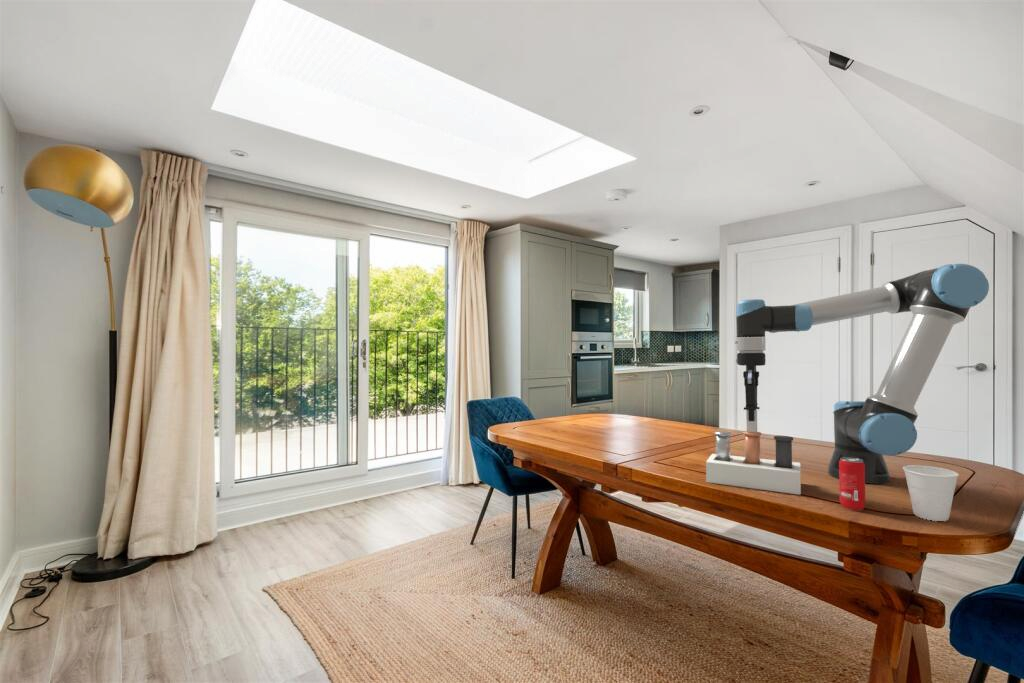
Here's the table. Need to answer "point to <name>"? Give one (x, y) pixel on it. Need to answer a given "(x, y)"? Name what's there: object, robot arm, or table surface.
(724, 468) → the socket board
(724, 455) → the plug grey
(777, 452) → the plug black
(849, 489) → the beverage can
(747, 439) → the plug rust
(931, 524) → the table surface
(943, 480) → the cup
